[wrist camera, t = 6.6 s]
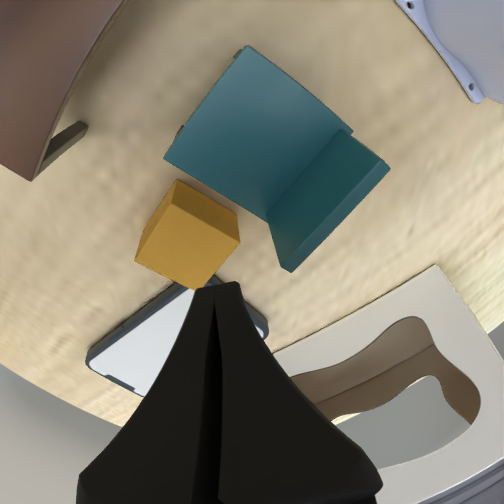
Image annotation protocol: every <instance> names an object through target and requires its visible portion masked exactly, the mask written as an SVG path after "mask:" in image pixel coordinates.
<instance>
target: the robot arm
mask: <svg viewBox="0 0 504 504" xmlns="http://www.w3.org/2000/svg"><path fill="white" fill-rule="evenodd" d="M395 1H396V3H397V4H398V5H399V6H400V7H401V8H402V9H403V10H404V12H405V13H406V14H407V15H408V16H409V17H410V18H411V19H412V21H413V22H414V23H415V24H416V25H417V26H418V27H419V29H420V30H421V31H422V32H423V33H424V35H425V36H426V37H427V38H428V40H429V41H430V42H431V43H432V45H433V46H434V47H435V49H436V50H437V51H438V52H439V54H440V55H441V56H442V58H443V59H444V61H445V62H446V63H447V65H448V66H449V67H450V69H451V70H452V72H453V73H454V75H455V76H456V78H457V79H458V81H459V82H460V84H461V85H462V87H463V88H464V90H465V91H466V93H467V94H468V96H469V98H470V99H471V101H472V102H474V103H476V104H479V103H480V102H481V101H482V100H483V99H484V97H486V98H489V99H491V100H494V101H496V102H499V103H501V104H504V0H395ZM407 2H408V3H409V4H410V5H411V8H410V9H409V8H408V7H407ZM469 85H471V87H470V89H469ZM382 487H383V481H382V479H381V477H380V474H379V472H378V471H377V469H376V467H375V466H374V464H373V463H372V462H371V460H370V459H369V458H368V456H367V455H366V453H365V452H364V451H363V449H362V448H361V447H360V446H358V445H357V444H356V443H355V442H353V441H352V440H351V439H350V438H349V437H347V436H346V435H345V434H344V433H343V432H342V431H341V430H339V429H338V428H337V427H336V426H335V425H334V424H333V423H332V422H331V421H330V420H329V419H328V418H326V417H325V416H324V415H323V414H322V413H321V412H320V411H319V410H318V409H317V408H316V406H315V405H314V404H313V403H312V402H311V401H310V400H309V399H308V398H307V397H306V396H305V395H304V394H303V393H302V392H301V390H300V389H299V388H298V387H297V386H296V384H295V383H294V382H293V381H292V380H291V378H290V377H289V376H288V375H287V373H286V372H285V371H284V369H283V368H282V367H281V366H280V364H279V363H278V361H277V360H276V359H275V357H274V356H273V354H272V353H271V351H270V350H269V348H268V347H267V345H266V344H265V342H264V340H263V339H262V337H261V335H260V334H259V332H258V330H257V328H256V326H255V325H254V323H253V321H252V319H251V317H250V315H249V313H248V311H247V308H246V306H245V303H244V300H243V296H242V292H241V288H240V284H239V283H238V282H236V281H234V282H228V283H223V284H217V285H212V286H206V287H201V288H197V289H196V290H195V292H194V295H193V298H192V301H191V304H190V307H189V309H188V312H187V314H186V317H185V319H184V322H183V324H182V327H181V329H180V331H179V333H178V336H177V338H176V340H175V342H174V345H173V347H172V349H171V351H170V353H169V355H168V357H167V359H166V361H165V363H164V365H163V367H162V368H161V370H160V372H159V374H158V376H157V377H156V379H155V381H154V383H153V384H152V386H151V388H150V389H149V391H148V392H147V394H146V396H145V397H144V399H143V400H142V401H141V403H140V404H139V406H138V407H137V409H136V410H135V412H134V413H133V415H132V416H131V417H130V419H129V420H128V421H127V423H126V424H125V425H124V426H123V428H122V429H121V430H120V431H119V432H118V434H117V435H116V436H115V437H114V439H113V440H112V441H111V442H110V443H109V445H108V446H107V447H106V448H105V449H104V450H103V451H102V452H101V453H100V454H99V455H98V456H97V457H96V458H95V459H94V460H93V461H92V462H91V463H90V464H89V465H88V467H86V468H85V469H84V470H83V471H82V472H81V473H80V474H79V479H78V485H77V496H76V504H377V501H376V497H375V495H376V494H377V493H378V492H379V491H380V490H381V489H382ZM416 504H504V458H503V459H501V460H500V461H498V462H496V463H495V464H493V465H492V466H490V467H488V468H487V469H485V470H483V471H482V472H480V473H478V474H476V475H475V476H473V477H471V478H469V479H467V480H465V481H463V482H462V483H460V484H458V485H456V486H454V487H452V488H450V489H448V490H446V491H444V492H441V493H439V494H437V495H435V496H433V497H430V498H428V499H426V500H424V501H421V502H419V503H416Z"/></svg>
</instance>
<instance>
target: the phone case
mask: <svg viewBox="0 0 504 504" xmlns="http://www.w3.org/2000/svg"><path fill="white" fill-rule="evenodd" d="M217 284H223V283H222V282H221V281H220V280H219V279H218V278H216V277H215V276H214V275H212V276H211V278H210V279H209V280H208V281H207V282H206V284H205V285H204V286H203V287H206V286H212V285H217ZM194 292H195V291H194V290H192V289H190V288H188V287H186V286H184V285H181V284H179V283H177V282H176V283H175V284H174V285H172V286H171V287H170V288H169V289H167V290H166V291H165V292H163V293H162V294H161V295H159V296H158V297H157V298H155V299H154V300H153V301H152V302H150V303H149V304H148V305H146V306H145V307H144V308H142V309H141V310H140V311H139V312H137V313H136V314H135V315H133V316H132V317H131V318H129V319H128V320H127V321H126V322H124V323H123V324H122V325H120V326H119V327H118V328H117V329H115V330H114V331H113V332H111V333H110V334H109V335H108V336H106V337H105V338H104V339H103V340H101V341H100V342H99V343H97V344H96V345H95V346H94V347H92V348H91V349H90V350H89V351H88V352H87V356H86V360H85V362H86V365H87V366H88V368H90V369H91V370H93V371H94V372H96V373H98V374H100V375H101V376H103V377H105V378H107V379H109V380H110V381H112V382H114V383H116V384H118V385H120V386H122V387H124V388H125V389H127V390H129V391H131V392H133V393H135V394H137V395H139V396H141V397H145V396H146V394H147V392H148V391H149V389H150V388H151V386H152V384H153V383H154V381H155V379H156V377H157V376H158V374H159V372H160V370H161V368H162V367H163V365H164V363H165V361H166V359H167V357H168V355H169V353H170V351H171V349H172V347H173V345H174V342H175V340H176V338H177V336H178V333H179V331H180V329H181V327H182V324H183V322H184V319H185V317H186V314H187V312H188V309H189V307H190V304H191V301H192V298H193V295H194ZM244 303H245V306H246V308H247V311H248V313H249V315H250V317H251V319H252V321H253V323H254V325H255V326H256V328H257V330H258V332H259V334H260V335H261V337H262V339H263V340H265V339H266V338H267V336H268V334H269V329H268V324H267V321H266V319H265V318H264V317H263V316H262V315H261V314H260V313H258V312H257V311H256V310H255V309H253V308H252V307H251V306H250V305H249V304H247V303H246V302H245V301H244Z"/></svg>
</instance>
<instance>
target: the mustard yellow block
mask: <svg viewBox="0 0 504 504" xmlns="http://www.w3.org/2000/svg"><path fill="white" fill-rule="evenodd" d="M239 244H240V237H239V229H238V222H237V215H236V214H235V213H233V212H231V211H230V210H228V209H226V208H225V207H223V206H221V205H220V204H218V203H216V202H215V201H213V200H211V199H210V198H208V197H206V196H205V195H203V194H201V193H200V192H198V191H196V190H195V189H193V188H191V187H190V186H188V185H186V184H185V183H183V182H181V181H180V180H178V179H177V180H176V181H175V183H174V184H173V186H172V187H171V189H170V190H169V192H168V193H167V195H166V196H165V198H164V199H163V201H162V202H161V204H160V205H159V207H158V209H157V210H156V212H155V213H154V215H153V216H152V218H151V220H150V221H149V223H148V224H147V226H146V228H145V229H144V231H143V234H142V237H141V240H140V243H139V246H138V250H137V253H136V256H135V259H134V261H135V262H137V263H139V264H141V265H143V266H145V267H147V268H149V269H151V270H153V271H155V272H157V273H159V274H161V275H163V276H165V277H167V278H169V279H171V280H173V281H175V282H177V283H179V284H181V285H184V286H186V287H188V288H190V289H192V290H194V291H195V290H196V289H197V288H201V287H203V286H204V285H205V284H206V282H207V281H208V280H209V279H210V278H211V276H212V275H213V274H214V273H215V272H216V271H217V269H218V268H219V267H220V266H221V265H222V264H223V262H224V261H225V260H226V259H227V258H228V256H229V255H230V254H231V253H232V252H233V251H234V249H235V248H236V247H237V246H238V245H239Z"/></svg>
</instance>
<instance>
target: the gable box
mask: <svg viewBox="0 0 504 504" xmlns="http://www.w3.org/2000/svg"><path fill="white" fill-rule="evenodd" d="M273 356H274V357H275V359H276V360H277V361H278V363H279V364H280V366H281V367H282V368H283V369H284V371H285V372H286V373H287V375H288V376H289V377H290V378H291V380H292V381H293V382H294V383H295V384H296V386H297V387H298V388H299V389H300V390H301V392H302V393H303V394H304V395H305V396H306V397H307V398H308V399H309V400H310V401H311V402H312V403H313V404H314V405H315V406H316V408H317V409H318V410H319V411H320V412H321V413H322V414H323V415H324V416H325V417H326V418H328V419H329V420H330V421H332V420H333V419H335V418H337V417H339V416H342V415H346V414H353V413H360V412H364V411H368V410H371V409H374V408H376V407H379V406H381V405H383V404H385V403H387V402H388V401H390V400H391V399H393V398H394V397H396V396H397V395H398V394H399V393H401V392H402V391H403V390H404V389H405V388H407V387H408V386H409V385H410V384H412V383H413V382H415V381H416V380H418V379H420V378H422V377H424V376H427V375H432V376H435V377H436V378H437V379H438V380H439V382H440V384H441V387H442V391H443V394H444V397H445V399H446V401H447V402H448V404H449V405H450V406H451V407H452V408H453V409H454V410H455V411H456V412H457V413H458V414H459V415H461V416H462V417H463V418H464V419H465V420H466V421H468V422H469V424H470V425H471V426H470V428H469V429H467V431H465V432H464V433H463V434H462V435H461V436H460V437H458V438H456V439H455V440H454V441H452V442H450V443H449V444H447V445H446V446H444V447H442V448H440V449H439V450H437V451H435V452H432V453H430V454H428V455H426V456H423V457H420V458H417V459H414V460H411V461H408V462H404V463H401V464H397V465H393V466H389V467H385V468H381V469H378V470H377V471H378V472H379V474H380V477H381V479H382V481H383V487H382V489H381V490H380V491H379V492H378V493H377V494H376V495H375V497H376V501H377V504H416V503H419V502H421V501H424V500H426V499H428V498H430V497H433V496H435V495H437V494H439V493H441V492H444V491H446V490H448V489H450V488H452V487H454V486H456V485H458V484H460V483H462V482H463V481H465V480H467V479H469V478H471V477H473V476H475V475H476V474H478V473H480V472H482V471H483V470H485V469H487V468H488V467H490V466H492V465H493V464H495V463H496V462H498V461H500V460H501V459H503V458H504V361H503V359H502V358H501V356H500V354H499V352H498V351H497V350H496V348H495V346H494V344H493V343H492V341H491V340H490V338H489V337H488V335H487V333H486V332H485V330H484V329H483V327H482V326H481V324H480V323H479V321H478V320H477V318H476V317H475V315H474V314H473V313H472V311H471V310H470V308H469V307H468V305H467V304H466V303H465V301H464V300H463V298H462V297H461V296H460V294H459V293H458V291H457V290H456V289H455V287H454V286H453V285H452V283H451V282H450V281H449V279H448V278H447V277H446V275H445V274H444V273H443V271H442V270H441V269H440V268H439V266H438V265H433V266H431V267H430V268H428V269H427V270H425V271H424V272H422V273H420V274H419V275H417V276H416V277H414V278H412V279H411V280H409V281H408V282H406V283H404V284H403V285H401V286H399V287H398V288H396V289H394V290H393V291H391V292H389V293H387V294H386V295H384V296H382V297H381V298H379V299H377V300H375V301H374V302H372V303H370V304H368V305H367V306H365V307H363V308H361V309H359V310H358V311H356V312H354V313H352V314H350V315H348V316H347V317H345V318H343V319H341V320H339V321H337V322H335V323H334V324H332V325H330V326H328V327H326V328H324V329H322V330H320V331H318V332H316V333H314V334H312V335H310V336H308V337H306V338H304V339H302V340H300V341H298V342H296V343H294V344H292V345H290V346H288V347H286V348H284V349H282V350H280V351H278V352H276V353H273Z"/></svg>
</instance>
